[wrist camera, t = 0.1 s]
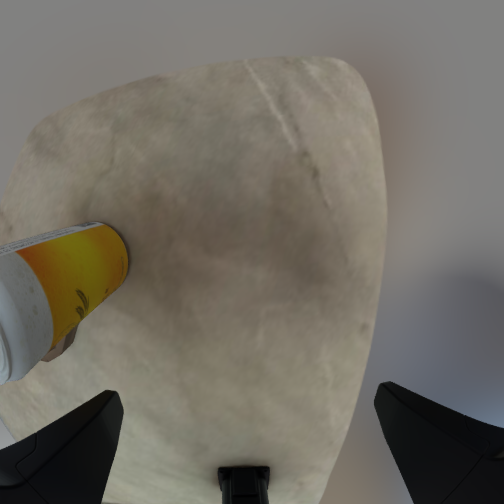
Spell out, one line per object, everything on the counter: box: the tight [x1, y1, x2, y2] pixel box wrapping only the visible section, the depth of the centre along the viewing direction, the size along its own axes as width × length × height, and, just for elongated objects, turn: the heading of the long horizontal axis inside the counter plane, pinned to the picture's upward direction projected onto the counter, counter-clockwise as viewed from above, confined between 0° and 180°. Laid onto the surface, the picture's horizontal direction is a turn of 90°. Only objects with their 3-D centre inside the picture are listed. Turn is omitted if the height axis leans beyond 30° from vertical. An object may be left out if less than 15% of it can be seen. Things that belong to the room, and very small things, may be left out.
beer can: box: [0, 222, 128, 385], centre depth 14 cm, size 6×6×15 cm
